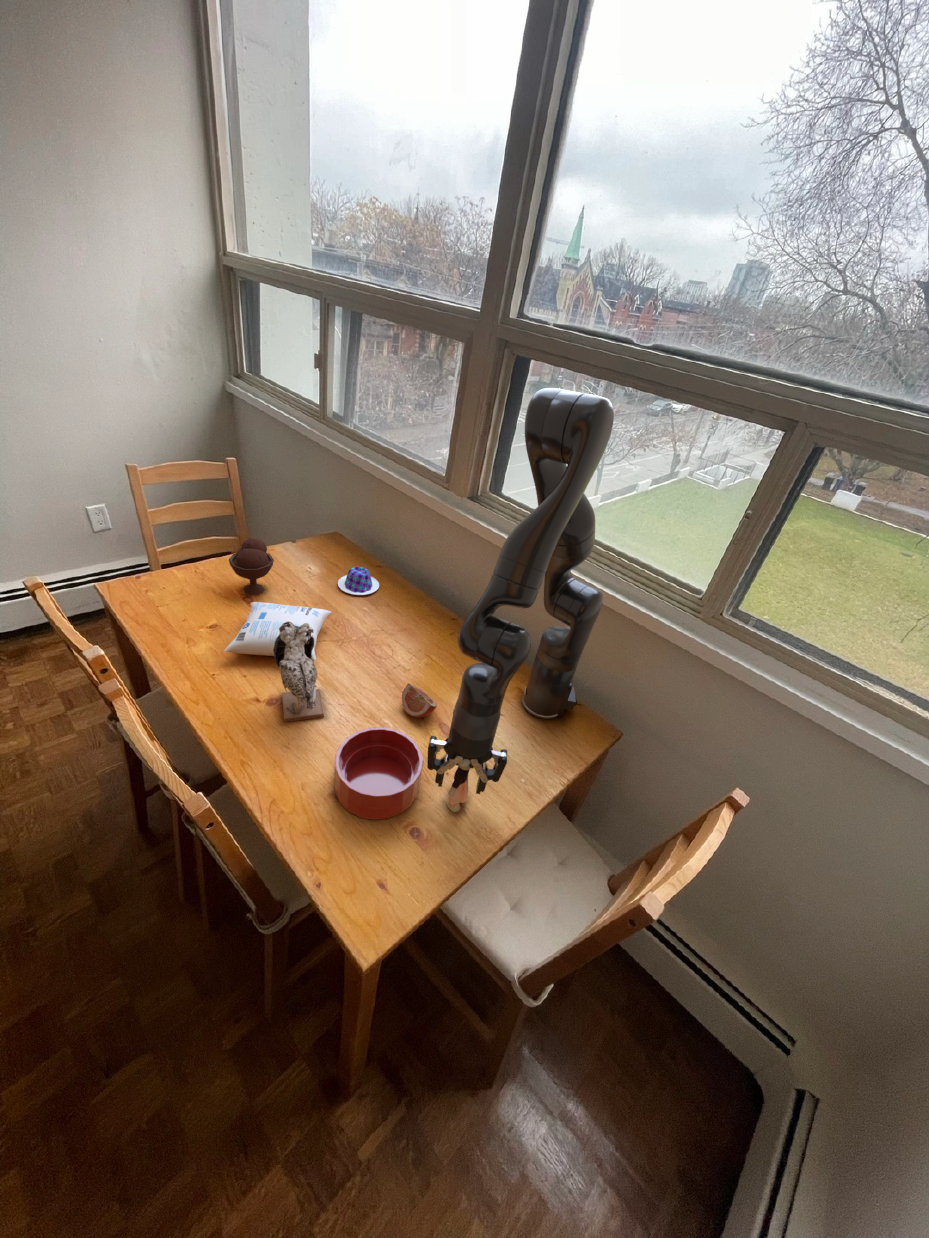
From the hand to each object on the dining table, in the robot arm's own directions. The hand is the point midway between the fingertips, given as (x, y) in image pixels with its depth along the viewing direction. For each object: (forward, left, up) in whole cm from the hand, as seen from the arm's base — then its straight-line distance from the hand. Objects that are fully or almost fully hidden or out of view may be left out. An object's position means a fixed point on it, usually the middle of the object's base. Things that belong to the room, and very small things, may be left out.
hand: (459, 786), depth 92 cm
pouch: (+47, -35, -4) cm, 59 cm away
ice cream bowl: (+63, -55, -4) cm, 84 cm away
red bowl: (+15, 0, -4) cm, 15 cm away
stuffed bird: (+35, -16, -4) cm, 39 cm away
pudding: (+37, -67, -4) cm, 77 cm away
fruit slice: (+11, -21, -4) cm, 24 cm away
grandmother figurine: (0, 0, -4) cm, 4 cm away
